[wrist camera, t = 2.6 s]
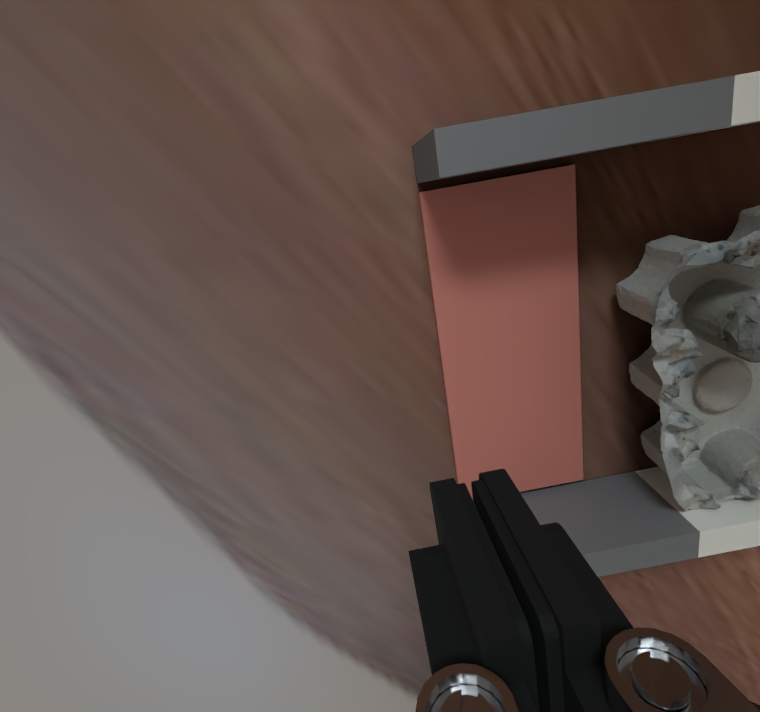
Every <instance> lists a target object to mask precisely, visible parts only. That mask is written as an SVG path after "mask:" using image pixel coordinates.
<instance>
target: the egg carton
mask: <svg viewBox="0 0 760 712" xmlns="http://www.w3.org/2000/svg"><path fill="white" fill-rule="evenodd" d="M616 293H617V299H618V303H619V307H620V308H622V309H623V310H624V311H627V312H628V313H630V314H632V315H634V316H636V317H638V318H640V319H642V320H644V321H646V322H649V323H650V324H651V325H653V326H652V328H651V339H652V343H651V345H650V347H649V348H648V349H647V350H646V351H645V352H644V353H643V354H642V355H641V356H640V357H639V358H637V359H636V360H634V361H632V362H630V363H629V373H630V378H631V382H632V384H633V385H634V386H635V387H636V388H637V389H639V390H641V391H642V392H643V393H644V394H645V395H646V396H648V397H650V398H651V399H652V400H654V401H655V402H656V403H657V405H658V406H660V416H661V419H660V420H659V421H658V422H657V423H656V424H655V425H653V426H652V427H650V428H649V429H647V430H644V431H643V433H642V434H641V443H642V446H643V448H644V451H645V453H646V455H647V456H648V457H649V458H650V459H651V460H652V461H654V462H655V463H656V464H657V465H658V466H659V467H660V468H661V469H662V470H663V471H664V472H665V473H666V474H667V476H668V477H669V480H670V483H671V487H672V492H673V496H674V498H675V500H676V501H677V503H678V504H679V505H680V506H681V507H682V508H683V509H684V510H685V511H687V510H691V509H695V508H716V509H719V508H720V507H721V505H720V504H719V503H720V502H723V501H725V500H729V499H733V498H748V499H752V500H758V499H760V490H759V489H758V488H757V487H756V486H760V205H758V206H755V207H752V208H748V209H744V210H742V211H741V212H740V213H739V221H738V223H737V225H736V226H735V229H734V232H733V233H732V234H731V236H730V237H729V238H728V239H727V240H726V241H718V242H713V243H707V242H701V241H697V240H691V239H688V238H683V237H679V236H675V235H668V236H665V237H663V238H660V239H656V240H652V241H651V242H649V243H647V244H646V248H645V253H644V256H643V258H642V260H641V262H640V264H639V266H638V269H636V270H635V271H634V272H633V273H632V274H631V275H630V276H629V277H628V278H626V279H624V280H623V281H621V282H619V283H617V284H616Z"/></svg>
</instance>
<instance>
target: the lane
mask: <svg viewBox="0 0 760 712" xmlns="http://www.w3.org/2000/svg"><path fill="white" fill-rule="evenodd" d="M757 122H760V71H757V72H751V73H745V74H740V75H734V76H728V77H723V78H717V79H712V80H706V81H700V82H695V83H689V84H683V85H678V86H672V87H666V88H661V89H655V90H650V91H644V92H638V93H633V94H627V95H621V96H616V97H610V98H605V99H599V100H593V101H588V102H582V103H576V104H571V105H565V106H560V107H554V108H548V109H543V110H537V111H531V112H526V113H520V114H514V115H509V116H503V117H498V118H492V119H486V120H481V121H475V122H469V123H464V124H458V125H453V126H447V127H441V128H436V129H433V130H432V131H431V132H429V133H428V134H427V135H426V136H424V137H423V138H422V139H421V140H419V141H418V142H417V143H416V144H415V145H413V146H412V149H413V156H414V164H415V171H416V179H417V183H423V182H428V181H434V180H440V179H445V178H451V177H456V176H462V175H467V174H473V173H479V172H484V171H490V170H495V169H501V168H506V167H512V166H518V165H523V164H529V163H534V162H540V161H545V160H551V159H557V158H562V157H568V156H573V155H579V154H585V153H590V152H596V151H601V150H607V149H612V148H618V147H624V146H629V145H635V144H640V143H646V142H651V141H657V140H663V139H668V138H674V137H679V136H685V135H690V134H696V133H702V132H707V131H713V130H718V129H724V128H729V127H735V126H741V125H746V124H752V123H757ZM418 194H419V201H420V209H421V216H422V224H423V231H424V239H425V246H426V254H427V261H428V269H429V276H430V284H431V291H432V299H433V306H434V314H435V321H436V329H437V336H438V344H439V351H440V359H441V366H442V374H443V381H444V389H445V396H446V404H447V411H448V419H449V426H450V434H451V441H452V449H453V456H454V464H455V471H456V479H457V484H461V483H465V484H466V486H467V488H468V491H469V493H470V495H471V497H472V500H473V495H472V487H471V482H472V481H476V480H479V473H482V472H487V471H492V470H498V469H505V470H506V471H507V473H508V475H509V476H510V478H511V479H512V481H513V482H514V484H515V486H516V487H517V489H518V490H519V492H522V491H527V490H532V489H538V488H543V487H548V486H553V485H559V484H564V483H569V482H574V481H580V480H583V444H582V405H581V366H580V328H579V289H578V251H577V212H576V174H575V165H569V166H563V167H558V168H552V169H546V170H541V171H535V172H530V173H524V174H519V175H513V176H507V177H502V178H496V179H491V180H485V181H480V182H474V183H469V184H463V185H457V186H452V187H446V188H441V189H435V190H430V191H424V192H418ZM756 487H757V488H758V489H759V490H760V486H756ZM520 494H521V495H522V497H523V498H524V500H525V501H526V503H527V505H528V506H529V508H530V509H531V511H532V512H533V514H534V516H535V517H536V519H537V520H538V522H539V524H540V525H544V524H549V523H554V522H557V523H559V524H560V525H561V526H562V527H563V528H564V530H565V531H566V532H567V534H568V535H569V537H570V538H571V540H572V541H573V542H574V544H575V545H576V547H577V548H578V550H579V551H580V552H581V554H582V555H583V557H584V558H585V560H586V561H587V562H588V564H589V565H590V567H591V568H592V570H593V571H594V572H595V574H596V575H597V577H601V576H606V575H612V574H617V573H622V572H627V571H632V570H637V569H642V568H648V567H653V566H658V565H663V564H668V563H673V562H678V561H684V560H689V559H694V558H699V557H704V556H709V555H715V554H720V553H725V552H730V551H735V550H740V549H745V548H751V547H756V546H760V499H758V500H752V499H748V498H733V499H729V500H725V501H723V502H720V503H719V504H720V505H721V507H720V508H719V509H716V508H695V509H691V510H687V511H685V510H684V509H683V508H682V507H681V506H680V505H679V504H678V503H677V501H676V500H675V498H674V496H673V492H672V487H671V483H670V480H669V477H668V476H667V474H666V473H665V472H664V471H663V470H662V469H661V468H660V467H654V468H649V469H644V470H638V471H633V472H628V473H623V474H617V475H612V476H607V477H602V478H596V479H591V480H586V481H581V482H575V483H570V484H565V485H560V486H554V487H549V488H544V489H539V490H533V491H528V492H523V493H520Z"/></svg>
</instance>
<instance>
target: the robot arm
mask: <svg viewBox="0 0 760 712" xmlns="http://www.w3.org/2000/svg"><path fill="white" fill-rule="evenodd" d="M471 487H472V495H473V500H472V497H471V495H470V493H469V491H468V488H467V486H466V484H465V483H461V484H456V481H455V479H454V478H451V479H446V480H441V481H436V482H430V491H431V497H432V504H433V510H434V516H435V522H436V529H437V535H438V541H439V545H437V546H432V547H427V548H422V549H417V550H411V551H409V556H410V561H411V567H412V572H413V577H414V583H415V588H416V593H417V599H418V604H419V609H420V615H421V620H422V625H423V630H424V635H425V641H426V646H427V651H428V656H429V662H430V667H431V672H432V676H431V677H430V678H429V680H428V681H427V682H426V683H425V684H424V686H423V688H422V690H421V692H420V694H419V696H418V699H417V706H416V712H760V705H757V704H755V703H753V702H751V701H749V700H748V699H747V698H746V697H745V696H744V695H743V694H742V693H741V692H740V691H739V690H738V689H737V688H736V687H735V686H734V685H733V684H732V683H731V682H730V681H729V680H728V679H727V678H726V677H725V676H724V675H723V674H722V673H721V672H720V671H719V670H718V669H717V668H716V667H715V666H714V665H713V664H712V663H711V662H710V661H709V660H708V659H707V658H706V657H705V656H704V655H703V654H701V653H700V652H699V651H698V650H697V649H695V648H694V647H693V646H692V645H690V644H689V643H688V642H686V641H684V640H682V639H680V638H678V637H676V636H675V635H673V634H670V633H667V632H664V631H660V630H657V629H652V628H639V627H638V628H633V627H632V625H631V624H630V622H629V621H628V619H627V618H626V617H625V615H624V614H623V612H622V611H621V609H620V608H619V607H618V605H617V604H616V602H615V601H614V600H613V598H612V597H611V595H610V594H609V592H608V591H607V590H606V588H605V587H604V585H603V584H602V582H601V581H600V580H599V578H598V577H597V575H596V574H595V572H594V571H593V570H592V568H591V567H590V565H589V564H588V562H587V561H586V560H585V558H584V557H583V555H582V554H581V552H580V551H579V550H578V548H577V547H576V545H575V544H574V542H573V541H572V540H571V538H570V537H569V535H568V534H567V532H566V531H565V530H564V528H563V527H562V526H561V525H560V524H559V523H557V522H554V523H549V524H544V525H540V524H539V522H538V520H537V519H536V517H535V516H534V514H533V512H532V511H531V509H530V508H529V506H528V505H527V503H526V501H525V500H524V498H523V497H522V495H521V494H520V492H519V490H518V489H517V487H516V486H515V484H514V482H513V481H512V479H511V478H510V476H509V475H508V473H507V471H506V470H505V469H498V470H492V471H487V472H482V473H479V480H476V481H472V482H471Z"/></svg>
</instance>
